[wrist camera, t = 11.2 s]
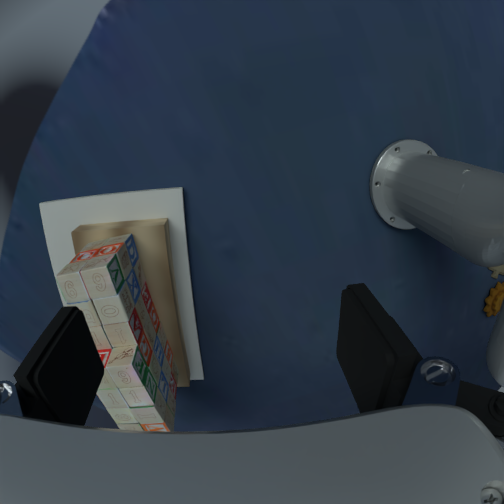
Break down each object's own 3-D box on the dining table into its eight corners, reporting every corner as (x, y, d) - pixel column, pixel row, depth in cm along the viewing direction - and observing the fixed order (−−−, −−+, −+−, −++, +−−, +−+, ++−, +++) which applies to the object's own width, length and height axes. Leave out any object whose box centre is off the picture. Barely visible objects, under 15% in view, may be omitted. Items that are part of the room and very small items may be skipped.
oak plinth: (167, 217, 38) (163, 225, 35) (190, 373, 47) (189, 386, 44) (80, 224, 37) (70, 232, 34) (119, 373, 46) (115, 385, 43)
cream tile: (182, 187, 37) (181, 188, 37) (204, 376, 49) (203, 379, 48) (42, 202, 36) (39, 203, 35) (91, 374, 47) (90, 377, 46)
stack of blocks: (86, 241, 35) (40, 290, 23) (132, 231, 35) (97, 279, 24) (140, 375, 43) (126, 440, 32) (180, 371, 43) (173, 438, 32)
